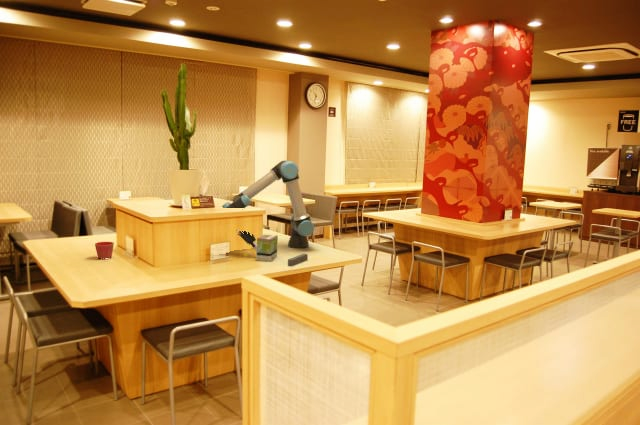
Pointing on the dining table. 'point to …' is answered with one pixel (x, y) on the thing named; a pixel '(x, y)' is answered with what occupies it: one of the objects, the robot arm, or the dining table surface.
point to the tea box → (266, 247)
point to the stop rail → (297, 259)
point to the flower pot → (104, 249)
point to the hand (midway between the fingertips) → (258, 250)
